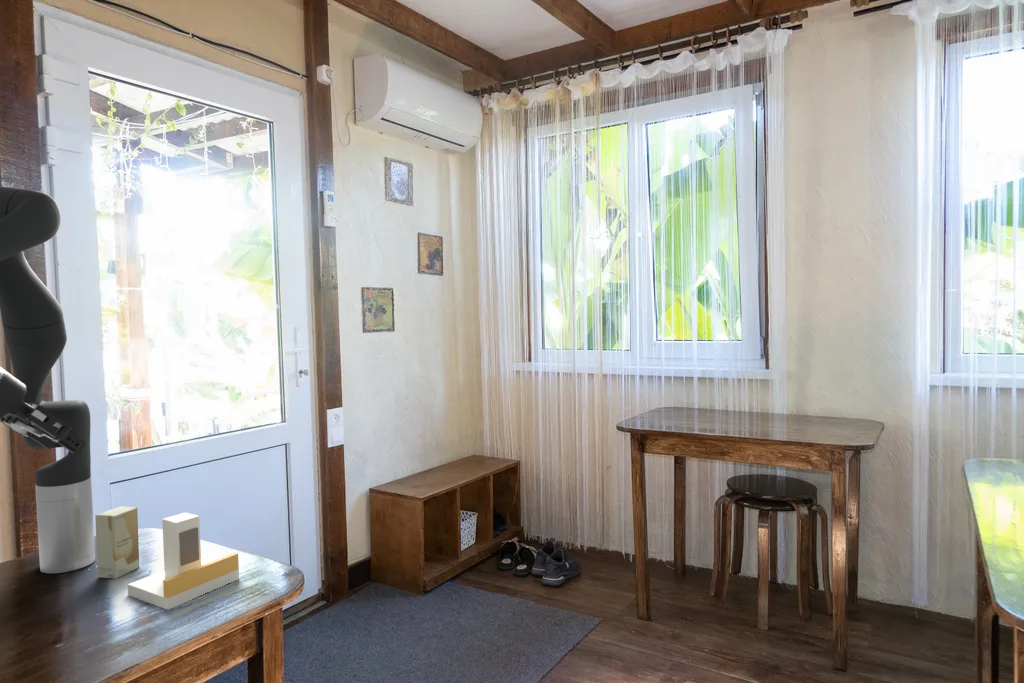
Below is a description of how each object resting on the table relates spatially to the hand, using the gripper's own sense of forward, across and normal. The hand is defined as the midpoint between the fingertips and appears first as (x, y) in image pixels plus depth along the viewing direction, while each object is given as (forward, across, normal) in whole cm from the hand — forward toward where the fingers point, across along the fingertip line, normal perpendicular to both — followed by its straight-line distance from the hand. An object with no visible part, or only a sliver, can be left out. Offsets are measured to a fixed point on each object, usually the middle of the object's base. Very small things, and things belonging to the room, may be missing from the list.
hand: (66, 446), depth 108 cm
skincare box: (+30, +12, +11) cm, 34 cm away
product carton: (+30, -6, +8) cm, 31 cm away
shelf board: (+31, -6, +9) cm, 33 cm away
